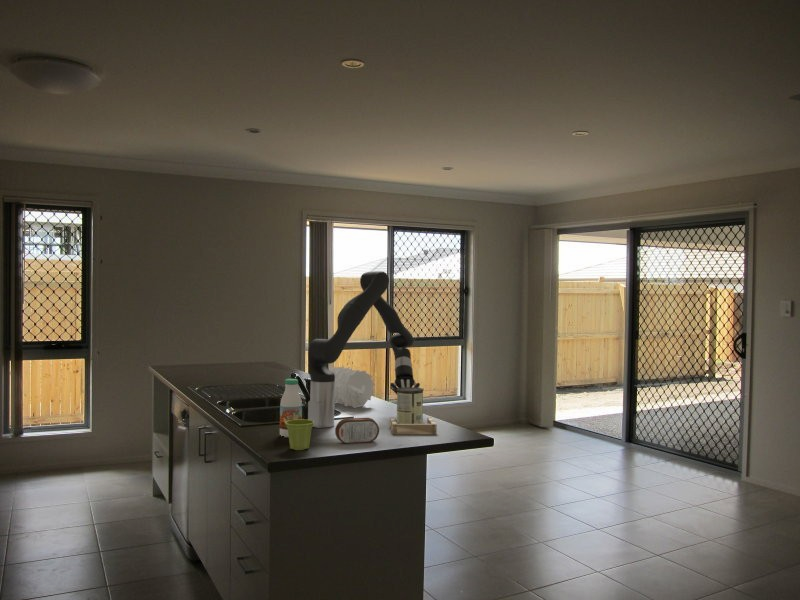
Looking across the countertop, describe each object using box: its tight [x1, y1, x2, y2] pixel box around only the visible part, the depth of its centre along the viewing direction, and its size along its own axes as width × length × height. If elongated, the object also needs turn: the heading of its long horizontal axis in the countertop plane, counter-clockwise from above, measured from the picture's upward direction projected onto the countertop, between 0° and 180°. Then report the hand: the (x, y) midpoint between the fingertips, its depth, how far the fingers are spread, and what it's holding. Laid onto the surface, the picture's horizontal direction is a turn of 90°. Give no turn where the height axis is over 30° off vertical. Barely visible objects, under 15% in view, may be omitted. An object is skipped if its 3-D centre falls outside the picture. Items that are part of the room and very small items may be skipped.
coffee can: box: [396, 386, 424, 424], centre depth 254 cm, size 10×10×14 cm
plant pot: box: [285, 418, 314, 451], centre depth 211 cm, size 9×9×9 cm
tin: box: [334, 417, 380, 445], centre depth 221 cm, size 15×3×8 cm, turn 109°
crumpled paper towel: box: [330, 365, 375, 409], centre depth 298 cm, size 18×18×25 cm
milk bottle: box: [279, 378, 303, 438], centre depth 231 cm, size 8×8×20 cm
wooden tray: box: [389, 417, 437, 435], centre depth 243 cm, size 14×16×4 cm
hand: (406, 403), depth 266 cm, fingers closed
